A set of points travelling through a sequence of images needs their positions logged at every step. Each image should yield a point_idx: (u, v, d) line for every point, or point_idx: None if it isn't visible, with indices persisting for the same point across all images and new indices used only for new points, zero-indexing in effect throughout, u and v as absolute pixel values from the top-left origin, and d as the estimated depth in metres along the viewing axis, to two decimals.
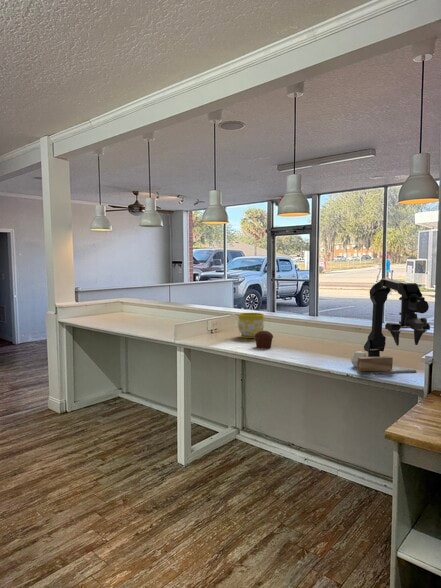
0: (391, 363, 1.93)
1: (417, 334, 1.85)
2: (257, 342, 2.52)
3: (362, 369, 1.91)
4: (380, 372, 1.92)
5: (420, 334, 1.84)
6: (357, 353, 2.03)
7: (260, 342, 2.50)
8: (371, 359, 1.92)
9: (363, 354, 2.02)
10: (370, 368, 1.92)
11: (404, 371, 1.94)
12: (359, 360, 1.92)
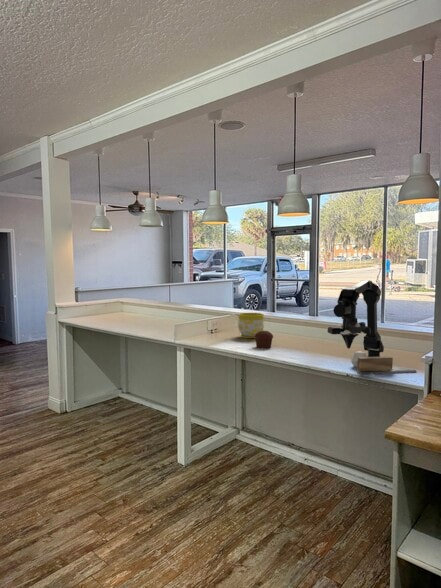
0: (391, 363, 1.93)
1: (349, 338, 1.91)
2: (257, 342, 2.52)
3: (362, 369, 1.91)
4: (380, 372, 1.92)
5: (352, 338, 1.89)
6: (357, 353, 2.03)
7: (260, 342, 2.50)
8: (371, 359, 1.92)
9: (363, 354, 2.02)
10: (370, 368, 1.92)
11: (404, 371, 1.94)
12: (359, 360, 1.92)
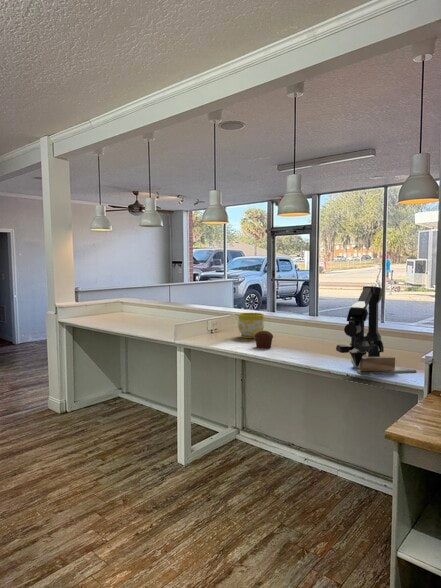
0: (393, 363, 1.94)
1: (358, 356, 1.92)
2: (257, 342, 2.52)
3: (365, 369, 1.91)
4: (380, 372, 1.92)
5: (360, 356, 1.91)
6: None
7: (260, 342, 2.50)
8: (374, 359, 1.92)
9: None
10: (372, 368, 1.92)
11: (404, 371, 1.94)
12: (362, 360, 1.92)
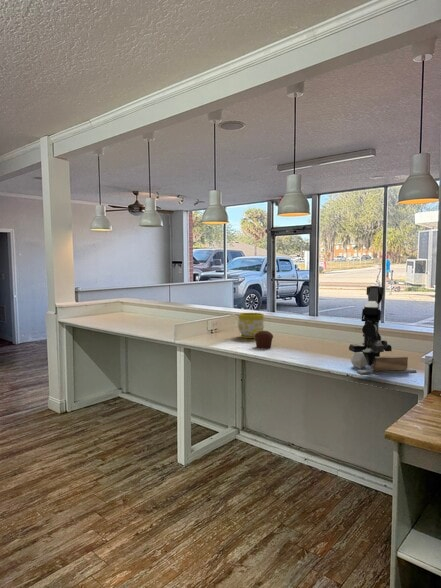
0: (406, 362, 1.95)
1: (371, 355, 1.93)
2: (257, 342, 2.52)
3: (377, 368, 1.92)
4: (380, 372, 1.92)
5: (373, 355, 1.92)
6: (357, 353, 2.03)
7: (260, 342, 2.50)
8: (386, 358, 1.93)
9: (363, 354, 2.02)
10: (385, 368, 1.93)
11: (404, 371, 1.94)
12: (374, 359, 1.93)
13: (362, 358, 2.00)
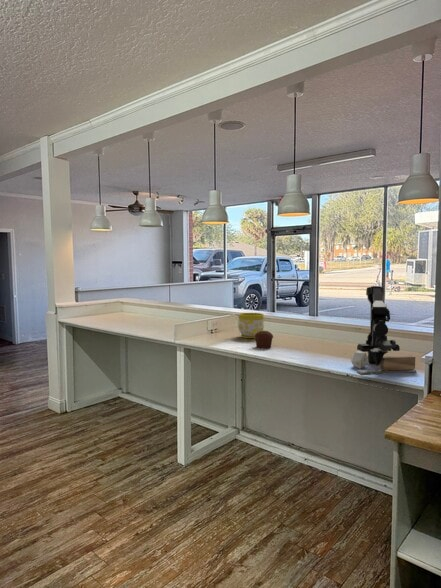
0: (414, 362, 1.95)
1: (379, 355, 1.93)
2: (257, 342, 2.52)
3: (385, 368, 1.93)
4: (380, 372, 1.92)
5: (381, 355, 1.92)
6: (357, 353, 2.03)
7: (260, 342, 2.50)
8: (394, 358, 1.93)
9: (363, 354, 2.02)
10: (393, 368, 1.94)
11: (404, 371, 1.94)
12: (382, 359, 1.94)
13: (362, 358, 2.00)
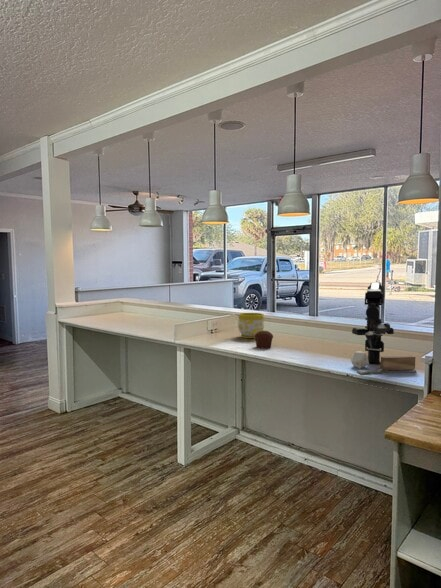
0: (414, 362, 1.95)
1: (373, 338, 1.96)
2: (257, 342, 2.52)
3: (385, 368, 1.93)
4: (380, 372, 1.92)
5: (376, 338, 1.95)
6: (357, 353, 2.03)
7: (260, 342, 2.50)
8: (394, 358, 1.93)
9: (363, 354, 2.02)
10: (393, 368, 1.94)
11: (404, 371, 1.94)
12: (382, 359, 1.94)
13: (362, 358, 2.00)
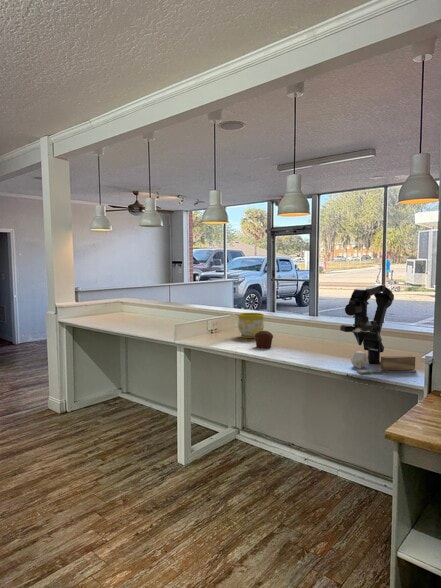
0: (414, 362, 1.95)
1: (361, 335, 2.03)
2: (257, 342, 2.52)
3: (385, 368, 1.93)
4: (380, 372, 1.92)
5: (363, 335, 2.02)
6: (357, 353, 2.03)
7: (260, 342, 2.50)
8: (394, 358, 1.93)
9: (363, 354, 2.02)
10: (393, 368, 1.94)
11: (404, 371, 1.94)
12: (382, 359, 1.94)
13: (362, 358, 2.00)
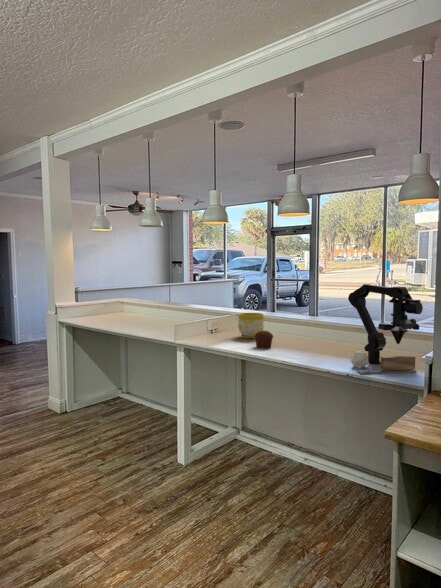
0: (414, 362, 1.95)
1: (399, 334, 2.02)
2: (257, 342, 2.52)
3: (385, 368, 1.93)
4: (380, 372, 1.92)
5: (402, 334, 2.01)
6: (357, 353, 2.03)
7: (260, 342, 2.50)
8: (394, 358, 1.93)
9: (363, 354, 2.02)
10: (393, 368, 1.94)
11: (404, 371, 1.94)
12: (382, 359, 1.94)
13: (362, 358, 2.00)
